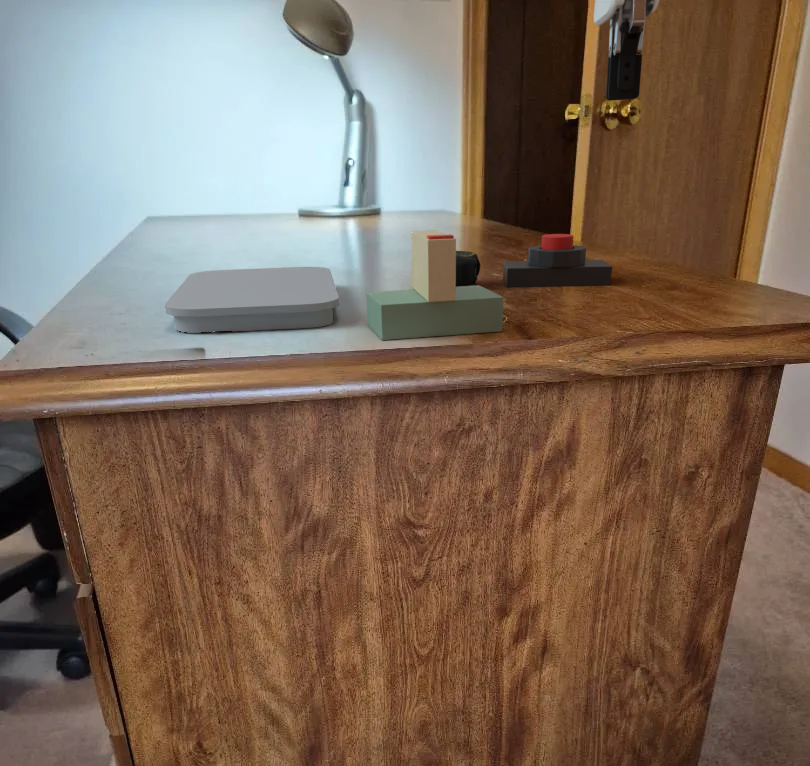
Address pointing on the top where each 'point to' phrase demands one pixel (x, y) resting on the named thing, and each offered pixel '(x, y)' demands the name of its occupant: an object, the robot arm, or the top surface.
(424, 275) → the cream red-tipped block
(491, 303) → the green rectangular block
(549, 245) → the bell button
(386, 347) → the top surface
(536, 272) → the dark grey button housing
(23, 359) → the top surface
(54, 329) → the top surface
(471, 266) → the tape measure
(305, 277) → the grey flat slab
